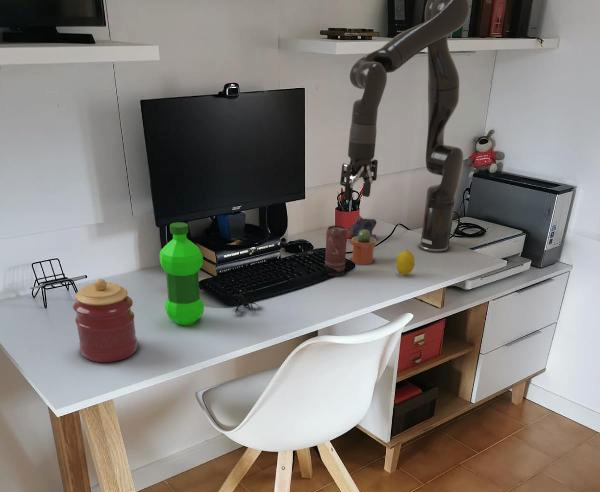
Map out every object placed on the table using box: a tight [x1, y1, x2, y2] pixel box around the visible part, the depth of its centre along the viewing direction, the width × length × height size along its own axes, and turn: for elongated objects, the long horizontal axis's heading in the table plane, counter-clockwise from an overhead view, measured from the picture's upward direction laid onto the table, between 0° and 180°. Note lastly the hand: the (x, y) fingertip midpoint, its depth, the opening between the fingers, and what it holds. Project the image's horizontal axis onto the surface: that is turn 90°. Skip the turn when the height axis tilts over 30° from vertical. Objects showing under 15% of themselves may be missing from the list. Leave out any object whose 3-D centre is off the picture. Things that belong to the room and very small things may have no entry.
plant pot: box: [351, 229, 377, 265], centre depth 209 cm, size 8×8×10 cm
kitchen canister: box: [72, 278, 138, 363], centre depth 149 cm, size 13×13×18 cm
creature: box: [227, 287, 260, 317], centre depth 174 cm, size 8×5×8 cm
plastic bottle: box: [158, 221, 205, 326], centre depth 162 cm, size 10×10×25 cm
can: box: [324, 225, 349, 277], centre depth 198 cm, size 6×6×14 cm
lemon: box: [395, 249, 415, 276], centre depth 199 cm, size 6×6×8 cm
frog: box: [348, 217, 377, 240], centre depth 229 cm, size 10×12×8 cm
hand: (357, 198), depth 193 cm, fingers open, 8 cm apart
